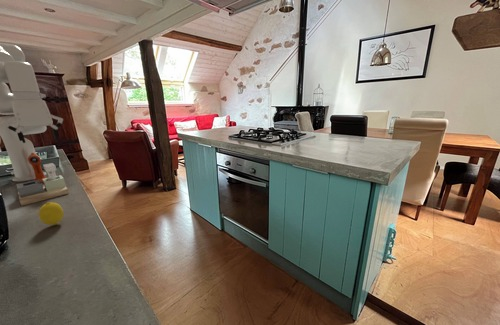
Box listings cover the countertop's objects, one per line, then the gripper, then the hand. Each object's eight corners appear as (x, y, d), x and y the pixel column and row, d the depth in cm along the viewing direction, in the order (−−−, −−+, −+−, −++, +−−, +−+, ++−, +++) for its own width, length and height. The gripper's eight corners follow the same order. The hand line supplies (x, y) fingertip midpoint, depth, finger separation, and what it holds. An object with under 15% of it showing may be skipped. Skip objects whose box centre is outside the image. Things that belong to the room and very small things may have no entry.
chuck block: (19, 193, 87) (16, 184, 86) (42, 187, 92) (40, 179, 91) (20, 198, 83) (17, 188, 82) (44, 192, 88) (42, 183, 87)
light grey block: (49, 186, 94) (42, 164, 91) (59, 184, 96) (52, 162, 93) (52, 190, 89) (45, 167, 87) (61, 187, 92) (55, 165, 89)
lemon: (69, 218, 71) (62, 197, 69) (62, 227, 66) (54, 204, 64) (48, 222, 69) (41, 200, 67) (39, 231, 64) (31, 208, 62)
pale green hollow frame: (45, 187, 93) (42, 179, 91) (63, 183, 97) (61, 175, 96) (47, 191, 89) (44, 182, 87) (66, 186, 93) (63, 178, 92)
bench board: (19, 195, 90) (17, 191, 89) (62, 185, 100) (61, 181, 99) (21, 205, 81) (19, 201, 80) (68, 193, 91) (67, 189, 90)
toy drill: (35, 188, 93) (24, 155, 90) (35, 183, 106) (25, 153, 103) (50, 185, 96) (39, 152, 93) (48, 180, 110) (39, 151, 107)
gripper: (55, 96, 91) (66, 136, 96) (-7, 96, 78) (9, 142, 83) (58, 96, 86) (69, 138, 91) (-7, 97, 73) (10, 145, 79)
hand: (40, 140), depth 87 cm, fingers open, 9 cm apart
